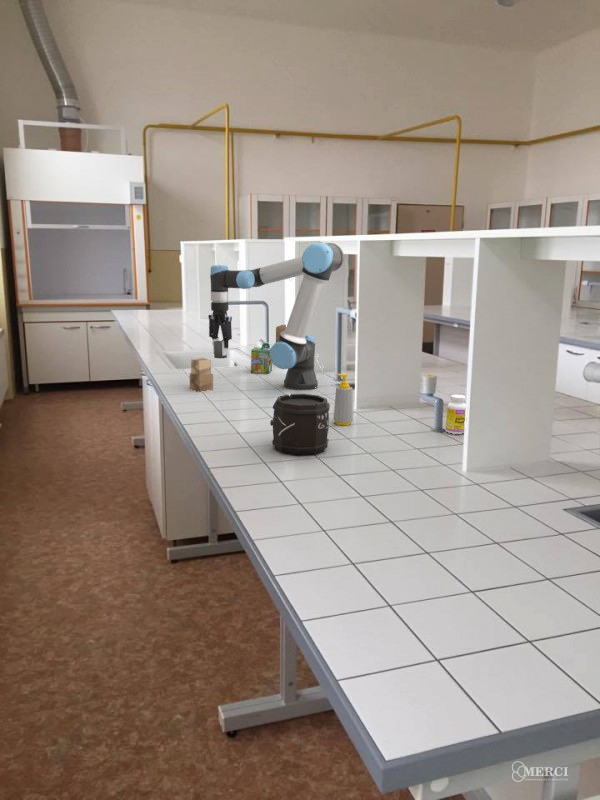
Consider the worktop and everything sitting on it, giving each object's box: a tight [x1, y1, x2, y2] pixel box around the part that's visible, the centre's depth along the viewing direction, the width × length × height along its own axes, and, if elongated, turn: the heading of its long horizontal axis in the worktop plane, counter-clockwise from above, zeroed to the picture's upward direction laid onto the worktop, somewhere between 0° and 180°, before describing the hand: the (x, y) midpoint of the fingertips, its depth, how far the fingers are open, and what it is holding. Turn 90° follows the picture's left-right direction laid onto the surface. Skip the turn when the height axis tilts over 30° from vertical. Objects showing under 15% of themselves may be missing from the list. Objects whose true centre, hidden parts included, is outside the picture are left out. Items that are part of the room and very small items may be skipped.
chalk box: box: [250, 341, 273, 375], centre depth 329 cm, size 9×9×15 cm
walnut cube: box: [189, 372, 214, 393], centre depth 288 cm, size 7×7×7 cm
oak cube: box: [190, 357, 212, 376], centre depth 287 cm, size 6×6×6 cm
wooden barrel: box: [269, 393, 331, 457], centre depth 208 cm, size 18×18×16 cm
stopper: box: [213, 340, 228, 359], centre depth 298 cm, size 6×6×7 cm
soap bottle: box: [333, 373, 354, 426], centre depth 238 cm, size 7×7×18 cm
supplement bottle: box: [445, 394, 467, 435], centre depth 231 cm, size 7×7×13 cm
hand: (220, 354), depth 299 cm, fingers closed on stopper, 5 cm apart
